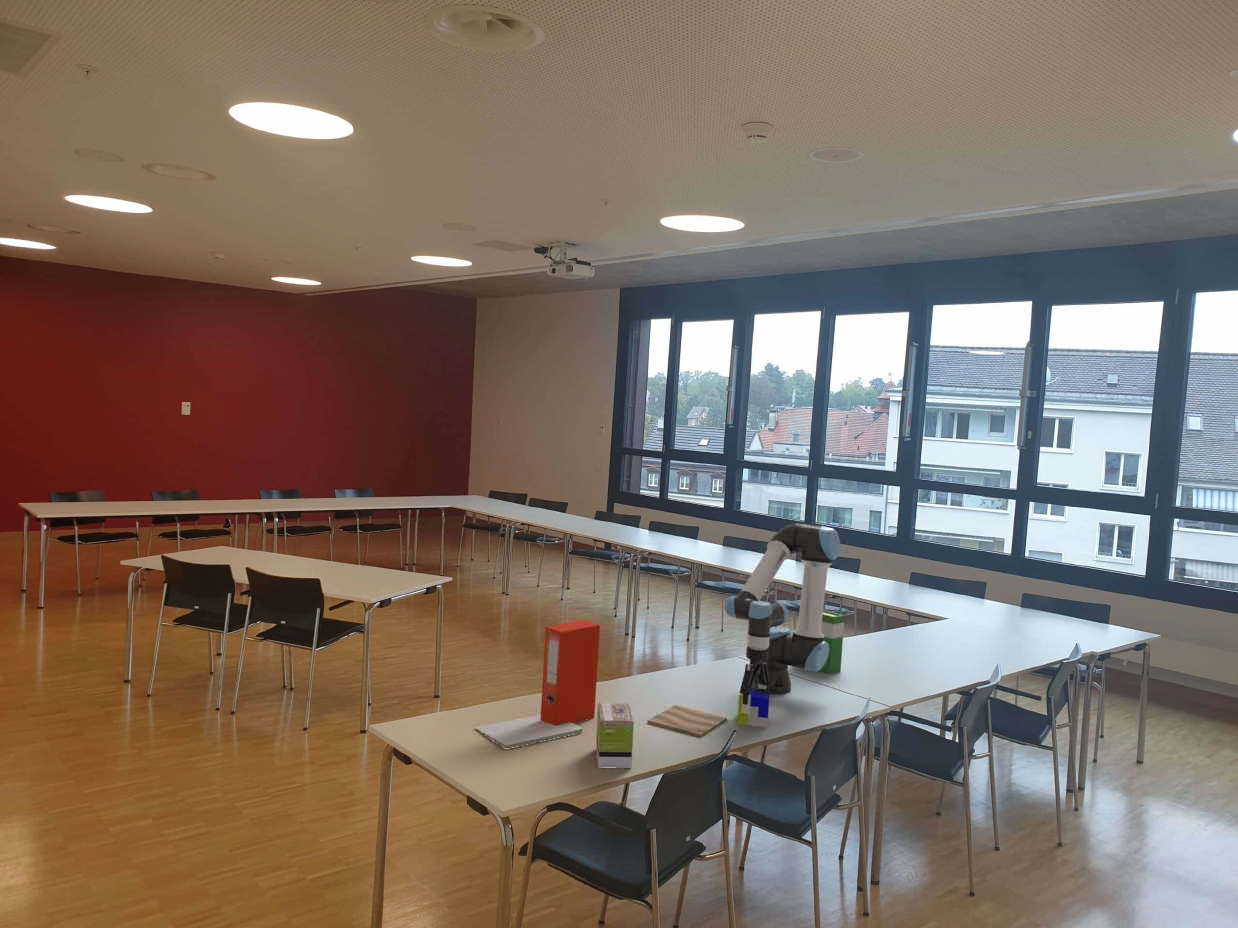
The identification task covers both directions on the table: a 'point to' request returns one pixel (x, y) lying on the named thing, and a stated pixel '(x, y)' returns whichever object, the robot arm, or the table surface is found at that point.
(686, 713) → the walnut board
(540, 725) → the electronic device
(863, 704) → the table surface
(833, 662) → the hardback book
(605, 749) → the tea box
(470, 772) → the table surface
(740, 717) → the puzzle toy
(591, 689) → the file binder
